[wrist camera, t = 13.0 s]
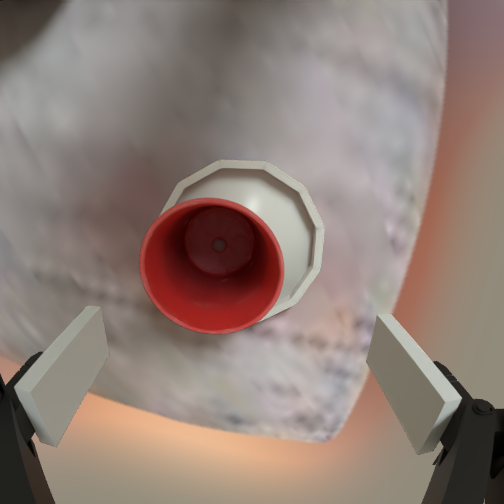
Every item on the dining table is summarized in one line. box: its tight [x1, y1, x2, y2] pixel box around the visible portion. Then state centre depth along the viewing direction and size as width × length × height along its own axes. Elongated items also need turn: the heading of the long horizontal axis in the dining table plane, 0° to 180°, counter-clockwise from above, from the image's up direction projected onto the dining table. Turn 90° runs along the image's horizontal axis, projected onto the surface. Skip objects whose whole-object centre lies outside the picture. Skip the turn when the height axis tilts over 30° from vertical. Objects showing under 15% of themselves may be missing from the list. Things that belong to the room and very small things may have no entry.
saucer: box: [159, 160, 325, 322], centre depth 32 cm, size 17×17×2 cm
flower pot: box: [139, 198, 284, 334], centre depth 28 cm, size 11×11×10 cm
